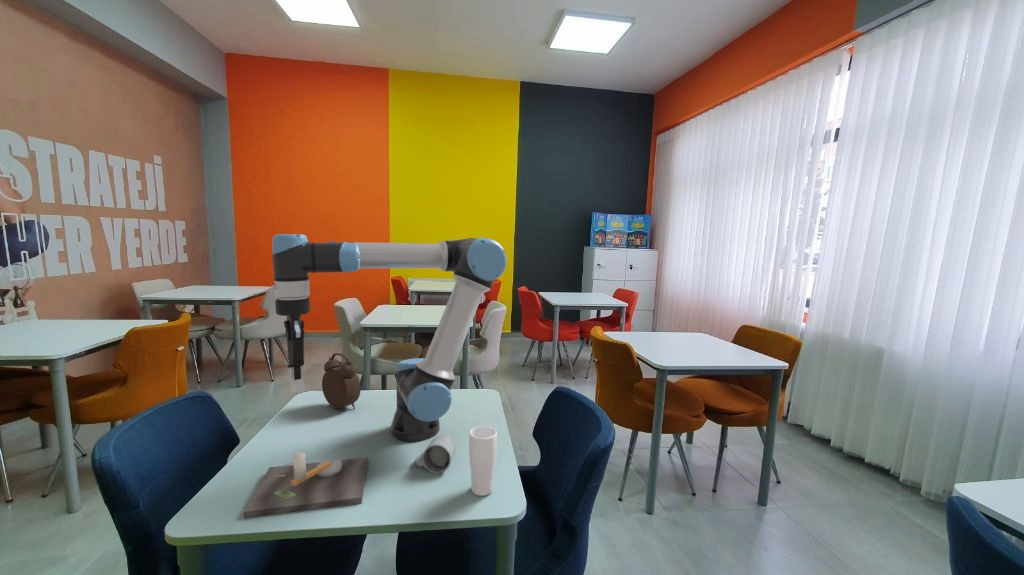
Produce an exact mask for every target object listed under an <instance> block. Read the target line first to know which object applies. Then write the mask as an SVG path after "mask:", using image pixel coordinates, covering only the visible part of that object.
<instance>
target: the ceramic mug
mask: <svg viewBox="0 0 1024 575" xmlns="http://www.w3.org/2000/svg"><path fill="white" fill-rule="evenodd" d="M456 449H457V447H456V443H455V441H454V439H453V438H452V437H451V436H448V435H447V434H439V435H437V436H435V437H434V438H433V439H432V440H431V442H430V443H429V444H428V446H426V448H425V450H424V451H423V452H422V453H420V454H419V455H418V456H417V457H416V458H415V459H414V463H415V466H417V467H423V466H424V467H425V469H427V471H429V472H431V473H433V474H440V473H444V472H445V471H446V470H448V468H449V467H450V465H451V464H452V461H453V458H454V457H455V453H456Z"/></svg>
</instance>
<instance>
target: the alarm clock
mask: <svg viewBox="0 0 1024 575" xmlns="http://www.w3.org/2000/svg"><path fill="white" fill-rule="evenodd" d="M336 356H340V357H343V358H344V359H345V362H342V361H340V360H339V359H336V358H335V357H336ZM323 368H324V374H323V376H322V378H321V379H322V380H321V387H322V392H323V397H324V399H325V400H326V402H327V404H328V407H332V408H334V409H342V412H346V410H345V408H346V407H348V406H349V407H350V406H352V407H353V410H355V409H356V407H355V403H356V402H357V401H358V400H359V398H360V395H361V388H362V387H361V381H360V378H359V376H358V374H357V372H358V369H357V368H358V367H357V365H356V363H354V362H353V361H350V358H349V356H347V355H346V354H345V353H341V352H335V353H333V354H332V356H329V357H328V360H327V361H326V362H325V363H324V366H323Z"/></svg>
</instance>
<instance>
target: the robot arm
mask: <svg viewBox="0 0 1024 575" xmlns="http://www.w3.org/2000/svg"><path fill="white" fill-rule="evenodd" d="M271 243H272V244H271V246H272V247H271V248H272V249H271V250H272V253H271V255H272V258H271V259H272V270H273V281H274V284H272V285H271V289H272V290H274V297H276V298H277V299H276V300H275V301H274V305H275V306H274V307H275V314H276V315H278V316H284V317H286V320H284V321H283V326H284V328H285V337H286V347H287V356H288V357H287V360H288V363H289V364H287V369H289V378H290V393H296V392H297V393H298V392H302V391H303V392H304V391H305V386H304V367H303V366H304V365H305V349H304V347H305V346H304V344H305V342H304V340H305V330H304V329H305V321H304V320H303V319H301V317H302V315H305V314H309V313H310V312H311V300H310V298H309V297H308V296H310V295H311V292H310V276H309V274H310V273H311V274H316V273H323V274H324V273H344V274H346V273H354V272H359V270H360V269H439V270H440V271H441V272H453V275H452V276H453V278H454V280H455V284H454V286H453V288H452V291H451V294H450V296H449V298H448V301H447V304H446V306H445V308H444V311H443V313H442V316H441V318H440V321H439V323H438V326H437V328H436V330H435V333H434V336H433V337H432V339H431V342H430V345H429V347H428V350H427V352H426V355H425V356H424V357H425V358H423V357H422V358H421V357H419V358H409V359H403V360H401V361H399V362H397V364H396V368H395V369H396V370H395V374H396V380H395V381H396V408H395V409H396V410H395V412H394V415H393V418H392V420H391V425H390V433H391V436H392V437H393V438H395V439H397V440H400V441H403V442H404V441H405V442H418V441H424V440H427V439H430V438H433V437H434V436H436V435H437V434H438V433H439V431H440V428H441V427H440V426H441V425H440V424H441V423H440V419H441V418H442V417H443V416H444V415H445V414H446V413H447V412H448V411H449V409H450V408H451V406H452V393H451V389H452V387H453V384H454V382H455V379H456V377H455V374H454V371H453V370H454V367H455V365H456V362H457V360H458V356H459V355H460V352H461V350H462V347H463V345H464V343H465V340H466V337H467V335H468V333H469V330H470V327H471V325H472V323H473V320H474V318H475V315H476V313H477V310H478V307H479V305H480V302H481V300H482V298H483V295H484V294H485V293H487V292H489V291H491V290H492V286H493V285H494V281H495V280H497V279H498V278H499V277H501V276H502V275H503V274H504V272H505V270H506V267H507V261H508V259H507V253H506V252H505V249H504V247H503V246H502V245H501V244H500V242H498V241H496V240H494V239H490V238H487V237H468V238H463V239H462V238H461V239H456V240H441V241H440V242H439V243H424V242H423V243H418V242H417V243H414V242H413V243H412V242H411V243H410V242H402V243H401V242H361V241H360V242H359V241H357V242H356V241H355V242H353V241H352V242H351V241H350V242H349V241H348V242H347V241H328V242H312V241H311V242H310V241H309V240H308V237H307V235H306V234H302V233H301V234H291V233H289V234H288V233H285V234H284V233H278V234H275V235H273V237H272V242H271Z"/></svg>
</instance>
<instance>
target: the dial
mask: <svg viewBox="0 0 1024 575" xmlns="http://www.w3.org/2000/svg"><path fill="white" fill-rule="evenodd" d="M292 456H293V465H294V480H292V481H291V485H293V486H296V485H298V484H299V483H301V482H303V481H305V480H307V479H308V478H310V477H312V476H314V475H316V474H317V476H319V477H331V476H334V475H337V474H338V473H340V472H341V470H342V462H341V461H340V460H341V459H337V458H331V459H330V458H329V459H325V460H322V461H319V462H320V463H319V464H318V465H317V466H316V468H314V469H312V470H310V471H309V472H307V473H306V464H307V456H306V451H305V450H300V451H295V452H294V453H293V455H292Z"/></svg>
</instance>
